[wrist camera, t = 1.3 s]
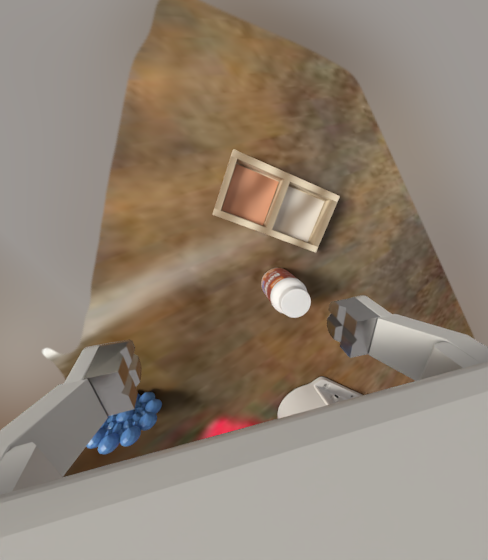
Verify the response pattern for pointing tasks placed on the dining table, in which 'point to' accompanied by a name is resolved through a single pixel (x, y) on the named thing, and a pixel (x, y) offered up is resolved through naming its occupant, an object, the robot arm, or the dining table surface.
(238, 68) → the dining table surface
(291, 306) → the pill bottle
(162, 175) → the dining table surface
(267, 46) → the dining table surface
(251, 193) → the tray
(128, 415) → the grapes
